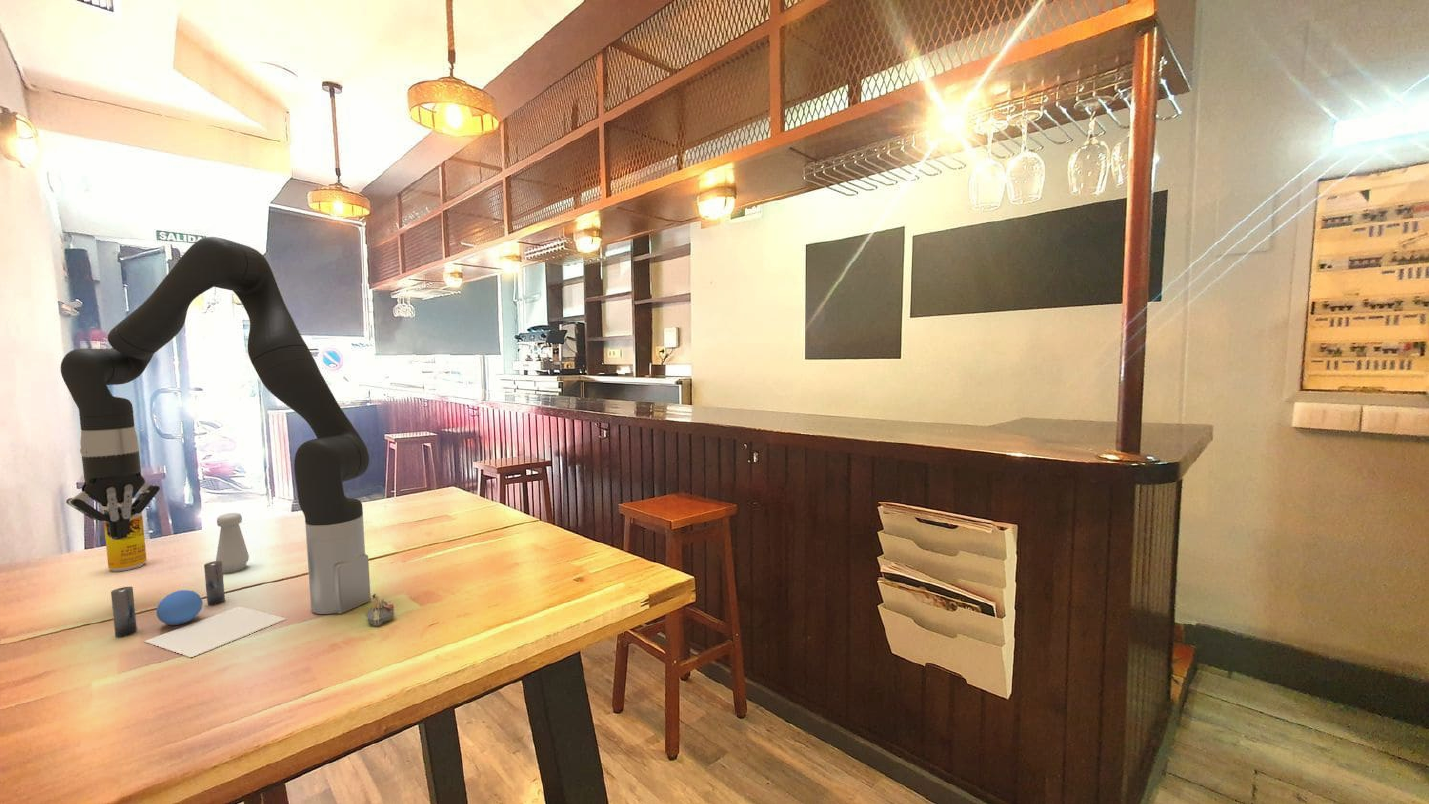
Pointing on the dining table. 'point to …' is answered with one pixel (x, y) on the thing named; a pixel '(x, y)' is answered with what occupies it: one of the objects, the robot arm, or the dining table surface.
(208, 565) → the right post
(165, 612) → the ball
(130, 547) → the beer can
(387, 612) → the figurine
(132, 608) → the left post
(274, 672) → the dining table surface
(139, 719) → the dining table surface
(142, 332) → the robot arm
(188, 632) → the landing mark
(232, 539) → the salt shaker
